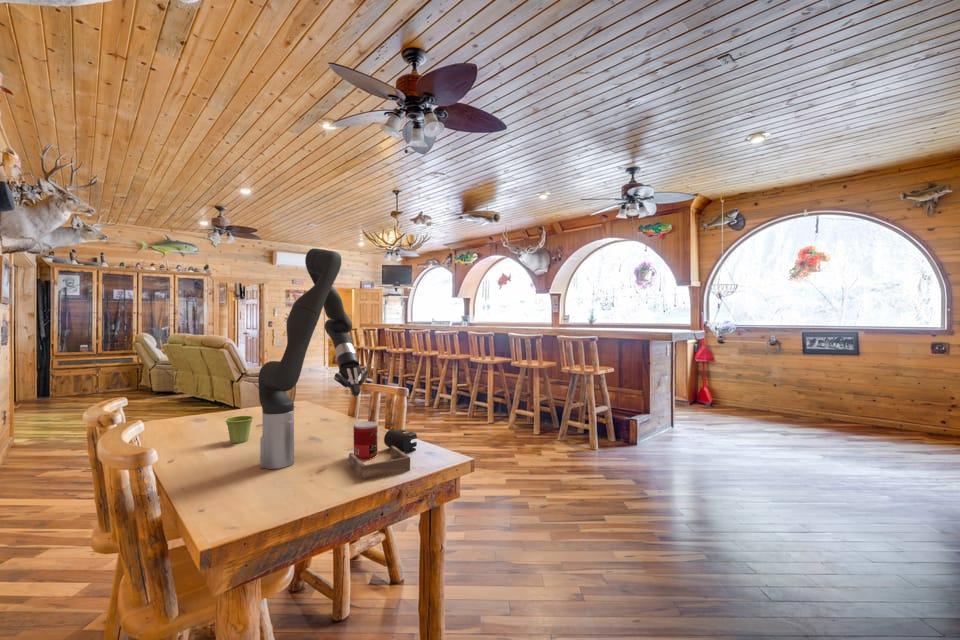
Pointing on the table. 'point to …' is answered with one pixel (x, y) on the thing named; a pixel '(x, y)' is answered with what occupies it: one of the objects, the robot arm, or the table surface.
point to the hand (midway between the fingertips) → (356, 394)
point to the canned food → (365, 439)
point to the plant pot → (239, 428)
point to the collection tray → (381, 465)
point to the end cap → (401, 440)
